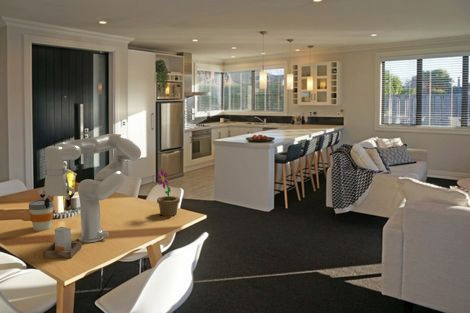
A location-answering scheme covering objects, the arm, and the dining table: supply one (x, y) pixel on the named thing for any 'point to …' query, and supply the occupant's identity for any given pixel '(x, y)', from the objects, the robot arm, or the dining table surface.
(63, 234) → the skincare box
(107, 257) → the dining table surface
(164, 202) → the flowerpot
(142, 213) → the dining table surface
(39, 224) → the reusable coffee cup
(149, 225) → the dining table surface
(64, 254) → the socket
